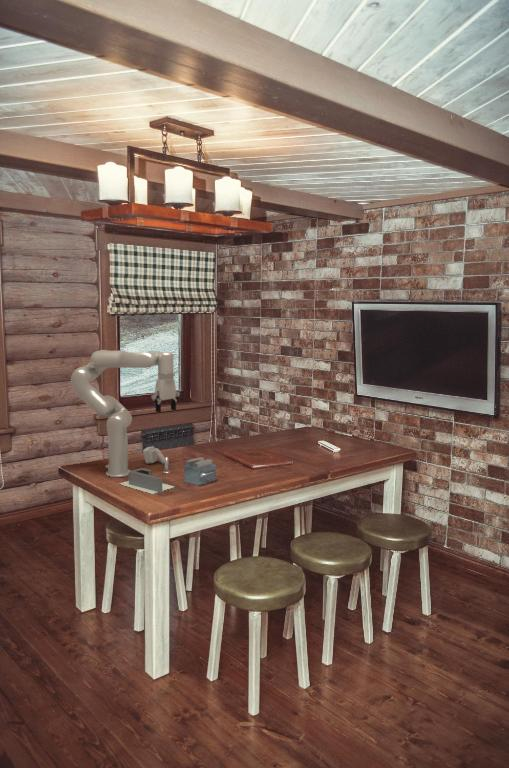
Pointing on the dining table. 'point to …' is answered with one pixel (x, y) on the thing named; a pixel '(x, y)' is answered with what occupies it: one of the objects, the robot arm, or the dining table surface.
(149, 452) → the wall hook
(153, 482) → the crook
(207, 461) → the grey metal pieces
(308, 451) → the dining table surface
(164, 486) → the mat
